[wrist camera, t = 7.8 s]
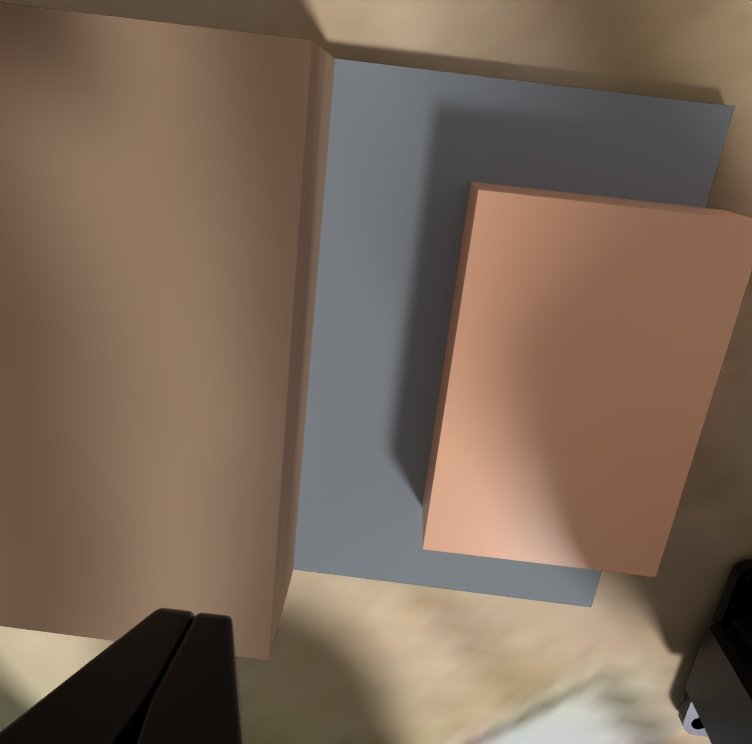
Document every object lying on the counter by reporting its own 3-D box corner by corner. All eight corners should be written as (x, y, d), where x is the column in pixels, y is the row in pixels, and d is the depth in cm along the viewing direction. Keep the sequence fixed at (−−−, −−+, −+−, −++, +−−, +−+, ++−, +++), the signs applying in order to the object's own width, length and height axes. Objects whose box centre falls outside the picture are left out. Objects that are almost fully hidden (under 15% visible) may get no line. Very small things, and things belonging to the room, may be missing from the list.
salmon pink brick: (478, 189, 14) (470, 181, 16) (422, 549, 17) (421, 506, 19) (766, 222, 14) (724, 210, 16) (656, 577, 17) (631, 531, 19)
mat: (726, 106, 15) (734, 106, 15) (588, 598, 20) (591, 607, 20) (336, 60, 15) (335, 58, 15) (295, 560, 20) (293, 569, 20)
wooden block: (336, 60, 15) (312, 39, 11) (295, 560, 20) (268, 660, 16) (-176, -2, 15) (-366, -41, 12) (-91, 511, 20) (-205, 599, 17)
